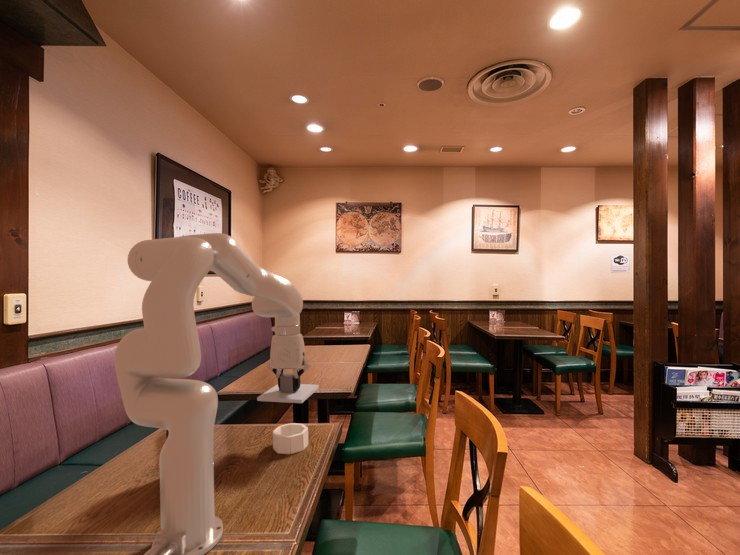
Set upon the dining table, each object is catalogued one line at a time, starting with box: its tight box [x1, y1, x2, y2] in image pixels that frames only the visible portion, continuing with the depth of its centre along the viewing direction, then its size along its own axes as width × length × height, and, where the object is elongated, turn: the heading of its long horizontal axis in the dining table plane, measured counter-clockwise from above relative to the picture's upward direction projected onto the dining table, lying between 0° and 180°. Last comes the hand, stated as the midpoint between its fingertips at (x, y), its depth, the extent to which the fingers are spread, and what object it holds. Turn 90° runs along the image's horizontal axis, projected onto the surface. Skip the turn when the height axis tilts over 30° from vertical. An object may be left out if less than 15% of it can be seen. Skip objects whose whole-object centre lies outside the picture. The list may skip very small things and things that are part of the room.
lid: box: [256, 372, 320, 404], centre depth 109 cm, size 14×14×6 cm
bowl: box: [272, 422, 309, 455], centre depth 110 cm, size 10×10×5 cm
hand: (289, 389), depth 109 cm, fingers closed on lid, 4 cm apart
